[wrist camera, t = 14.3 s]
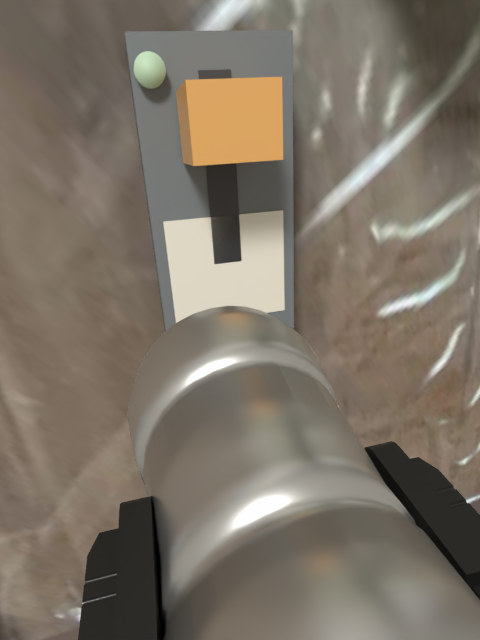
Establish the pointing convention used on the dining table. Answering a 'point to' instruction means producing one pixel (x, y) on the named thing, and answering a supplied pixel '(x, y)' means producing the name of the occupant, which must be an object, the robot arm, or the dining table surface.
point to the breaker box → (214, 178)
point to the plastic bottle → (275, 498)
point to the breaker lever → (230, 120)
